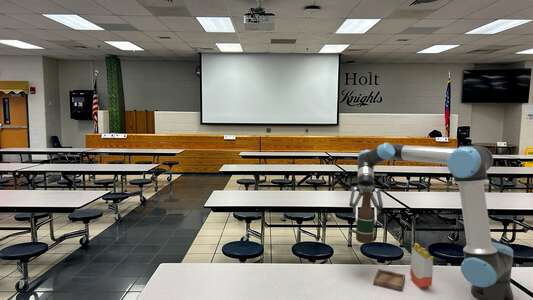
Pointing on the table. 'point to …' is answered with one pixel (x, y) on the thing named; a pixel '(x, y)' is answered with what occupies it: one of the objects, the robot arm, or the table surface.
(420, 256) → the french fries container
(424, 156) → the robot arm
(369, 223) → the beer bottle
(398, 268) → the table surface
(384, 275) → the wooden tray
